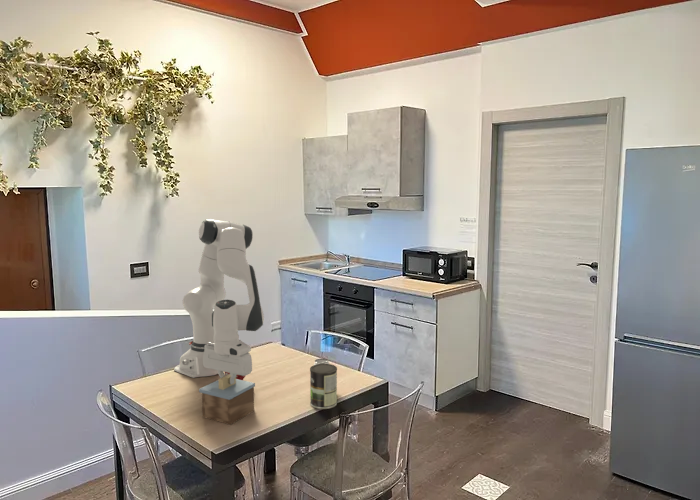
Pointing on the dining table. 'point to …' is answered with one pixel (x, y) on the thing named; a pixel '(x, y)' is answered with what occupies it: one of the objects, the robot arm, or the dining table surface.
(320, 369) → the coffee can
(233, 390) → the lid
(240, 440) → the dining table surface
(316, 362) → the can
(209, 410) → the box
